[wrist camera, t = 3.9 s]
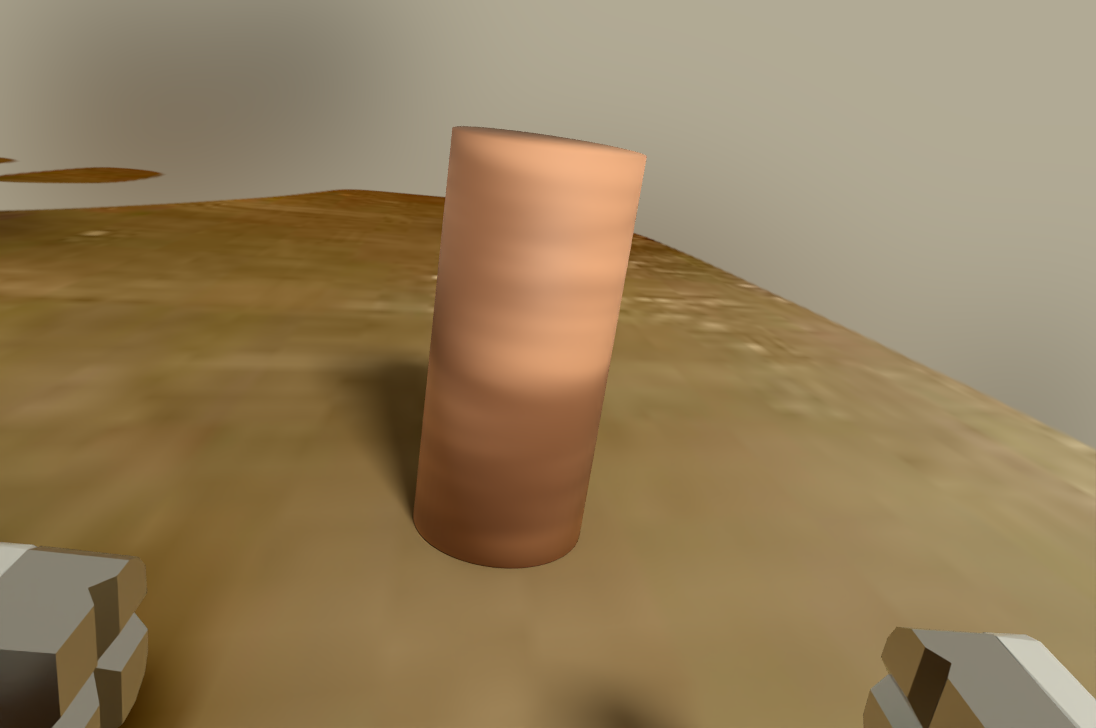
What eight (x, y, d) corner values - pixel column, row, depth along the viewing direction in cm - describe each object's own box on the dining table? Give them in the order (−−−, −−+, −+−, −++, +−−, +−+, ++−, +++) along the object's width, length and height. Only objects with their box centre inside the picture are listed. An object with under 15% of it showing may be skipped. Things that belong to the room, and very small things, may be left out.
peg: (611, 526, 23) (681, 159, 19) (508, 590, 19) (573, 156, 16) (488, 466, 25) (533, 130, 22) (377, 513, 22) (410, 121, 18)
